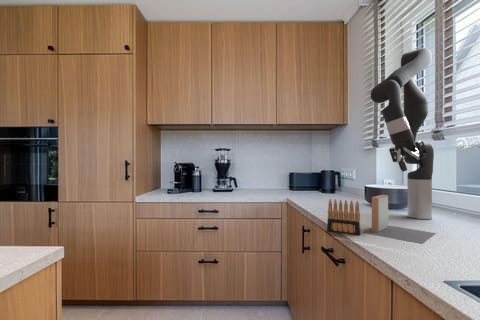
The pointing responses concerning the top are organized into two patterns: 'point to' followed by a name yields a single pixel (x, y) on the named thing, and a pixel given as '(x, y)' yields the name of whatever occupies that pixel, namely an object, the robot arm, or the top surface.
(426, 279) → the top surface
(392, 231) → the mat
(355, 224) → the ammunition clip
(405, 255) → the top surface
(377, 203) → the tile
